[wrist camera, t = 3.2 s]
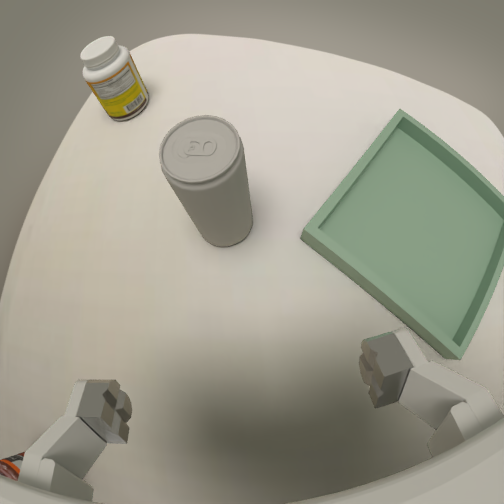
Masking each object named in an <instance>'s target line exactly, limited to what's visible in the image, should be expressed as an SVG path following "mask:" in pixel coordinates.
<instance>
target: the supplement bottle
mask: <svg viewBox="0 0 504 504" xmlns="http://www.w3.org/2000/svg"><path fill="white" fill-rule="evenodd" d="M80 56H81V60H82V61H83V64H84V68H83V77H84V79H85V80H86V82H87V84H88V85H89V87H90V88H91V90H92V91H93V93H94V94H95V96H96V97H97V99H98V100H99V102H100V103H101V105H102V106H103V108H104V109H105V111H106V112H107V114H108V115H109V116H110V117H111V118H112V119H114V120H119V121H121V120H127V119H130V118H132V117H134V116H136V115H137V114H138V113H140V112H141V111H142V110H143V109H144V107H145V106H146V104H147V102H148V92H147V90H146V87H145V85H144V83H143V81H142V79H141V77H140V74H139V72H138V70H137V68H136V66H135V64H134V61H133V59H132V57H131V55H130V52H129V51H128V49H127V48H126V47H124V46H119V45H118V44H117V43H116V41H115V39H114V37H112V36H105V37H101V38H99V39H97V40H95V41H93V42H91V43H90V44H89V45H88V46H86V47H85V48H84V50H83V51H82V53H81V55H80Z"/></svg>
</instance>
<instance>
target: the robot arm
mask: <svg viewBox="0 0 504 504" xmlns="http://www.w3.org/2000/svg"><path fill="white" fill-rule="evenodd" d="M361 349H362V351H363V353H362V355H361V356H360V359H359V367H360V373H361V376H362V379H363V381H364V383H366V384H367V385H369V386H370V388H369V396H370V398H371V400H372V403H373V405H374V407H375V408H378V407H381V406H385V405H388V404H391V403H394V402H397V401H398V403H400V404H401V405H402V406H404V407H405V408H407V409H408V410H409V411H411V412H412V413H413V414H415V415H416V416H418V417H419V418H420V419H422V420H423V421H424V422H426V423H427V424H429V425H430V426H431V427H433V428H434V429H436V432H435V433H434V434H433V436H432V437H431V438H430V440H429V442H428V444H427V446H428V448H429V450H430V453H431V455H432V458H431V459H429V460H426V461H424V462H422V463H420V464H417V465H415V466H413V467H410V468H408V469H405V470H403V471H400V472H398V473H395V474H393V475H390V476H387V477H385V478H382V479H379V480H376V481H373V482H370V483H367V484H364V485H361V486H357V487H354V488H351V489H347V490H344V491H340V492H336V493H332V494H328V495H324V496H320V497H315V498H311V499H306V500H301V501H296V502H290V503H284V504H504V416H503V414H502V412H501V410H500V409H499V407H498V405H497V404H496V402H495V401H494V399H493V397H492V396H491V394H490V392H489V391H488V389H487V388H486V387H484V386H482V385H480V384H478V383H476V382H474V381H472V380H470V379H468V378H466V377H464V376H462V375H460V374H458V373H456V372H454V371H452V370H450V369H448V368H446V367H444V366H442V365H440V364H438V363H436V362H434V361H430V362H428V360H427V359H426V357H425V355H424V354H423V352H422V351H421V349H420V348H419V346H418V344H417V343H416V341H415V340H414V338H413V337H412V335H411V334H410V332H409V331H408V329H406V328H402V329H398V330H395V331H392V332H387V333H384V334H381V335H378V336H374V337H371V338H367V339H364V340H363V341H362V344H361ZM131 415H132V405H131V401H130V398H129V396H128V395H127V394H126V393H125V392H123V391H121V390H120V384H119V383H118V382H117V381H116V380H77V381H76V382H75V384H74V387H73V390H72V393H71V396H70V399H69V403H68V406H67V409H66V412H65V415H64V416H61V417H60V418H59V419H58V420H57V421H56V422H55V423H54V424H53V425H52V426H51V427H50V428H49V429H48V430H47V431H46V432H45V433H44V434H43V435H42V436H41V437H40V438H39V439H38V440H37V441H36V442H35V443H34V444H33V445H32V446H31V447H30V448H29V449H28V450H27V451H26V452H25V454H24V458H23V462H22V465H21V469H20V473H19V477H18V481H15V480H13V479H10V478H7V477H5V476H2V475H0V504H103V503H97V502H92V499H93V490H94V489H93V487H92V486H91V485H89V484H88V483H86V482H85V481H83V480H82V479H83V478H84V476H85V475H86V474H87V472H88V471H89V469H90V468H91V467H92V465H93V464H94V462H95V461H96V459H97V458H98V457H99V455H100V454H101V452H102V451H103V450H104V448H105V447H106V445H107V443H117V444H127V441H128V434H129V426H128V425H127V422H128V420H129V419H130V418H131Z"/></svg>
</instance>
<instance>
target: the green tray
mask: <svg viewBox="0 0 504 504" xmlns="http://www.w3.org/2000/svg"><path fill="white" fill-rule="evenodd" d="M300 239H301V240H302V241H304V242H305V243H306V244H308V245H309V246H310V247H311V248H313V249H314V250H315V251H316V252H318V253H319V254H320V255H322V256H323V257H324V258H325V259H327V260H328V261H329V262H330V263H332V264H333V265H334V266H335V267H337V268H338V269H339V270H340V271H342V272H343V273H344V274H345V275H347V276H348V277H349V278H350V279H352V280H353V281H354V282H355V283H357V284H358V285H359V286H360V287H361V288H363V289H364V290H365V291H366V292H368V293H369V294H370V295H371V296H372V297H374V298H375V299H376V300H377V301H379V302H380V303H381V304H382V305H383V306H385V307H386V308H387V309H388V310H389V311H391V312H392V313H393V314H394V315H395V316H396V317H398V318H399V319H400V320H401V321H402V322H404V323H405V324H406V325H407V326H408V327H409V328H411V329H412V330H413V331H414V332H415V333H416V334H418V335H419V336H420V337H421V338H422V339H423V340H425V341H426V342H427V343H428V344H429V345H430V346H432V347H433V348H434V349H435V350H436V351H437V352H438V353H439V354H441V355H442V356H443V357H444V358H445V359H455V360H461V358H462V356H463V354H464V353H465V351H466V349H467V347H468V345H469V343H470V341H471V340H472V338H473V336H474V334H475V332H476V330H477V328H478V326H479V324H480V321H481V319H482V317H483V315H484V313H485V311H486V309H487V306H488V304H489V302H490V299H491V297H492V295H493V292H494V290H495V287H496V285H497V282H498V280H499V277H500V275H501V272H502V269H503V266H504V196H503V195H502V194H501V193H500V192H499V191H498V190H497V189H496V188H495V187H494V186H493V185H492V184H491V183H490V182H489V181H488V180H487V179H486V178H485V177H484V176H483V175H482V174H481V173H480V172H478V171H477V170H476V169H475V168H474V167H473V166H472V165H471V164H470V163H469V162H468V161H466V160H465V159H464V158H463V157H462V156H461V155H460V154H458V153H457V152H456V151H455V150H454V149H452V148H451V147H450V146H449V145H448V144H446V143H445V142H444V141H443V140H442V139H440V138H439V137H438V136H436V135H435V134H434V133H433V132H431V131H430V130H429V129H427V128H426V127H425V126H423V125H422V124H421V123H419V122H418V121H417V120H415V119H414V118H412V117H411V116H410V115H408V114H407V113H405V112H404V111H403V110H401V109H399V110H398V111H397V113H396V114H395V115H394V117H393V118H392V119H391V120H390V122H389V123H388V124H387V126H386V127H385V128H384V129H383V131H382V132H381V133H380V135H379V136H378V137H377V138H376V140H375V141H374V142H373V143H372V145H371V146H370V147H369V149H368V150H367V151H366V152H365V154H364V155H363V156H362V157H361V159H360V160H359V161H358V162H357V164H356V165H355V166H354V167H353V169H352V170H351V171H350V172H349V174H348V175H347V176H346V177H345V179H344V180H343V181H342V182H341V184H340V185H339V186H338V187H337V189H336V190H335V191H334V192H333V194H332V195H331V196H330V197H329V198H328V200H327V201H326V202H325V203H324V205H323V206H322V207H321V208H320V209H319V211H318V212H317V213H316V214H315V216H314V217H313V218H312V219H311V220H310V222H309V223H308V224H307V225H306V227H305V228H304V229H303V232H302V235H301V238H300Z"/></svg>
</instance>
